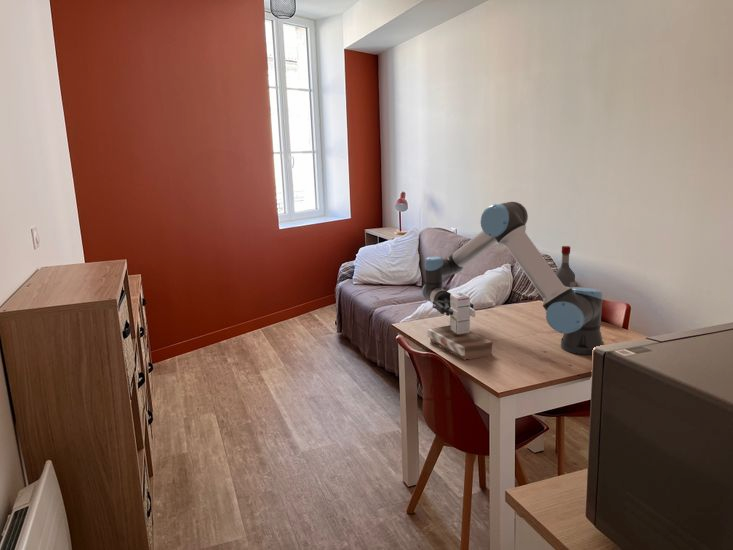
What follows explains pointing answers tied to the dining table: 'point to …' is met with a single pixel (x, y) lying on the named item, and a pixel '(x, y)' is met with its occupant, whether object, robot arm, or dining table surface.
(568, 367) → the dining table surface
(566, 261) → the liquor
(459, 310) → the syrup box
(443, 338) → the striped flat box
